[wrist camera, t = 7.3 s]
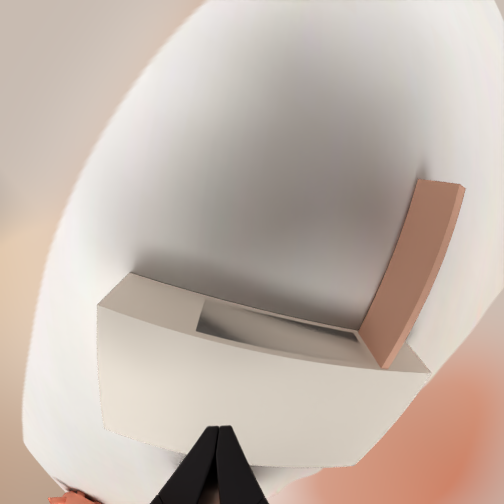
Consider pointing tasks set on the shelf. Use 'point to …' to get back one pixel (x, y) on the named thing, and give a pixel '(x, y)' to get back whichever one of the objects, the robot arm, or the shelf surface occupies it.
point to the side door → (412, 268)
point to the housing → (243, 377)
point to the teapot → (72, 499)
